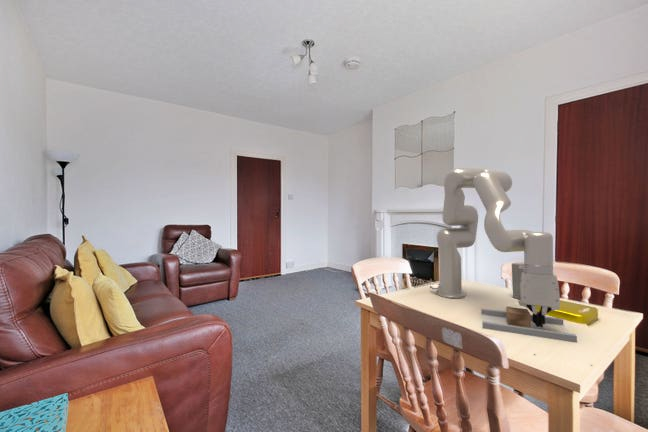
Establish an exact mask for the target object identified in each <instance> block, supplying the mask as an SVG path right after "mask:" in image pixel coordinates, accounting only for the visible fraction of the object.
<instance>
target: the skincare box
mask: <svg viewBox="0 0 648 432" xmlns="http://www.w3.org/2000/svg"><path fill="white" fill-rule="evenodd" d="M523 264H524V261H522V262H513V263H511V277H512V278H511V279H512V280H511V282H512V298H514V299H518V300H520V297H519V291H520V280H521V275H522V272H524V270H522V269H519V265H523Z"/></svg>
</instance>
